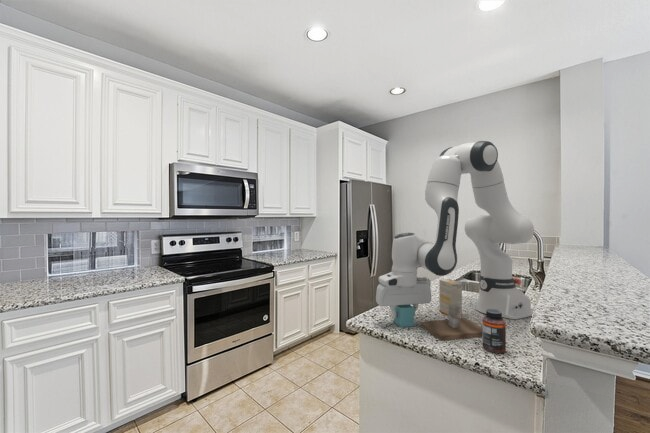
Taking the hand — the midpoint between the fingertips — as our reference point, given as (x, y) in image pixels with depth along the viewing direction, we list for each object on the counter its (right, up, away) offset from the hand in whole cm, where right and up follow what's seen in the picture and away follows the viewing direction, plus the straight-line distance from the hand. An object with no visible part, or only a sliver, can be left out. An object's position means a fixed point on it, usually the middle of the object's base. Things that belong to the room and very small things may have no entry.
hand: (403, 316), depth 104 cm
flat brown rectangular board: (+16, -3, -6) cm, 17 cm away
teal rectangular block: (0, -3, 0) cm, 3 cm away
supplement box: (+21, -3, +11) cm, 24 cm away
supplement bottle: (+21, -3, -19) cm, 29 cm away
